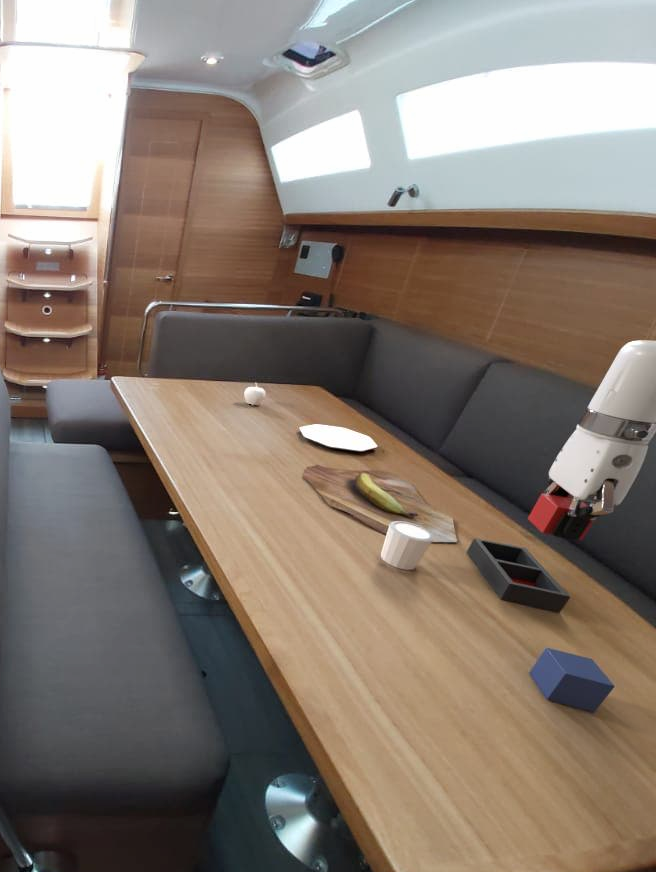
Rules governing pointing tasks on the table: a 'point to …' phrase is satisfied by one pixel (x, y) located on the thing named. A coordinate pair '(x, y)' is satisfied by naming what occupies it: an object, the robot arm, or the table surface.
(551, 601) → the tray
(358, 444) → the plate
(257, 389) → the plain white apple
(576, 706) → the blue block
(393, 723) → the table surface
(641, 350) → the robot arm
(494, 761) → the table surface
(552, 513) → the red block
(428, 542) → the white cup
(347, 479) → the cutting board
